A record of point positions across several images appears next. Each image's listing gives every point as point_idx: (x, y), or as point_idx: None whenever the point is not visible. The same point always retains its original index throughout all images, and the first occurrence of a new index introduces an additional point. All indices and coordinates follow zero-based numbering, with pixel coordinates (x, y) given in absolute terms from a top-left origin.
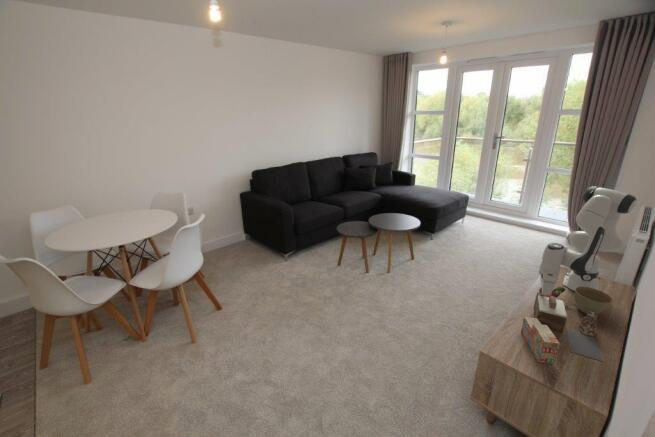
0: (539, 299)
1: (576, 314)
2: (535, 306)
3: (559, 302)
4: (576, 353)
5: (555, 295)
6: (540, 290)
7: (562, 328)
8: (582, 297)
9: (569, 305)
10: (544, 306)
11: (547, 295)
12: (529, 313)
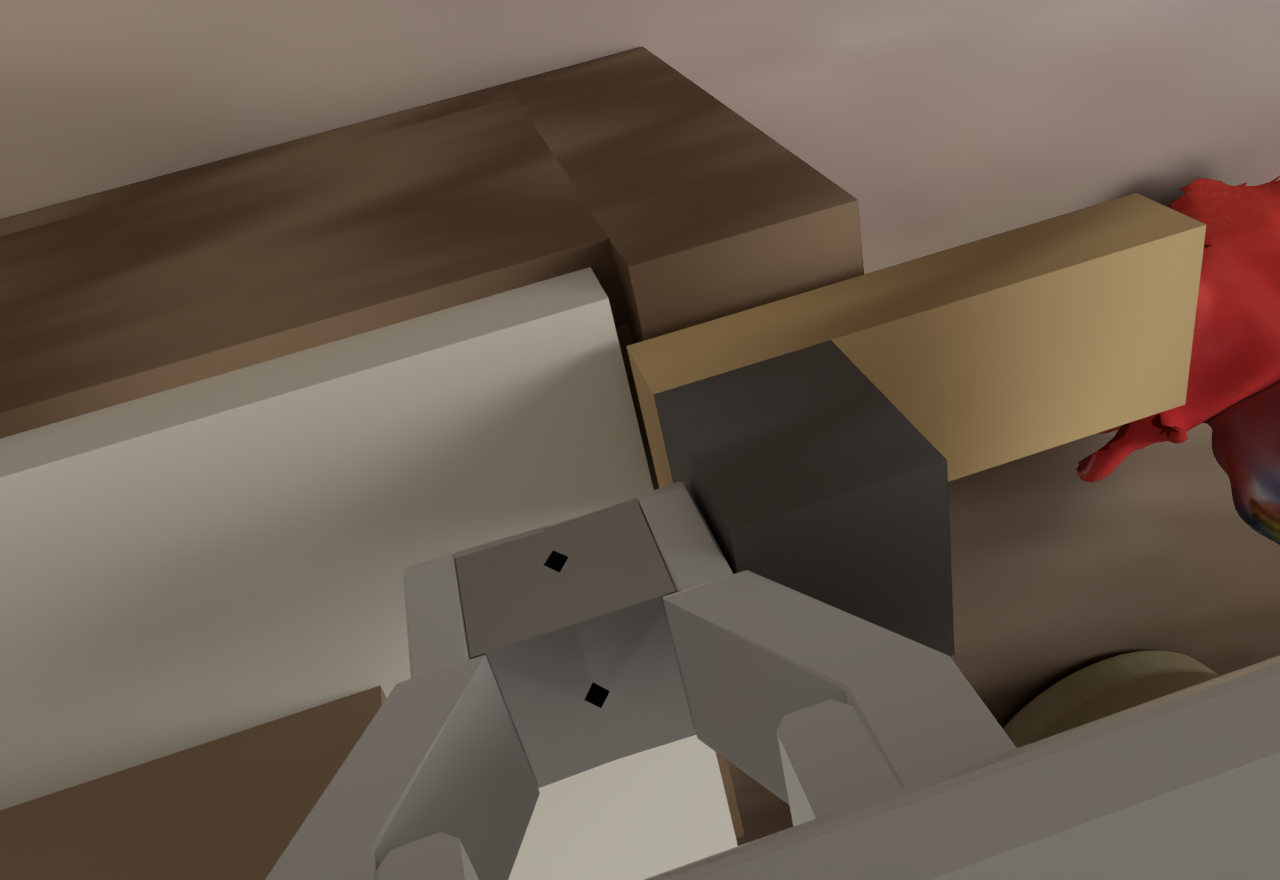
0: (187, 449)
1: None
2: (362, 178)
3: (561, 874)
4: None
5: (1237, 444)
6: (712, 461)
7: None
8: None
9: (1117, 561)
10: None
11: (1250, 253)
12: (152, 36)
